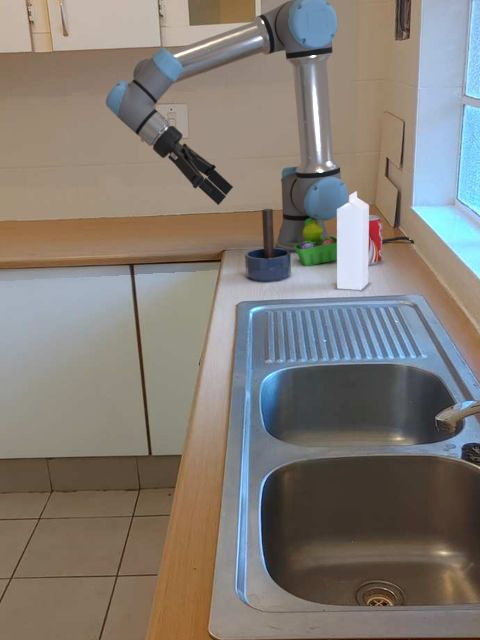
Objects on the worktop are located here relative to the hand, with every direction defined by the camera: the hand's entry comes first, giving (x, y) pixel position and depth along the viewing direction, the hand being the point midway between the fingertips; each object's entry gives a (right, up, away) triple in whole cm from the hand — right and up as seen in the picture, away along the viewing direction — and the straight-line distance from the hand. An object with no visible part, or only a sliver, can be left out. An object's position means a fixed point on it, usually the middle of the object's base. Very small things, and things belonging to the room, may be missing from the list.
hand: (226, 195), depth 187 cm
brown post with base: (+11, -19, +5) cm, 22 cm away
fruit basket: (+25, -14, +17) cm, 33 cm away
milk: (+30, -23, -7) cm, 39 cm away
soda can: (+38, -15, +12) cm, 42 cm away
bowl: (+11, -19, +5) cm, 23 cm away
